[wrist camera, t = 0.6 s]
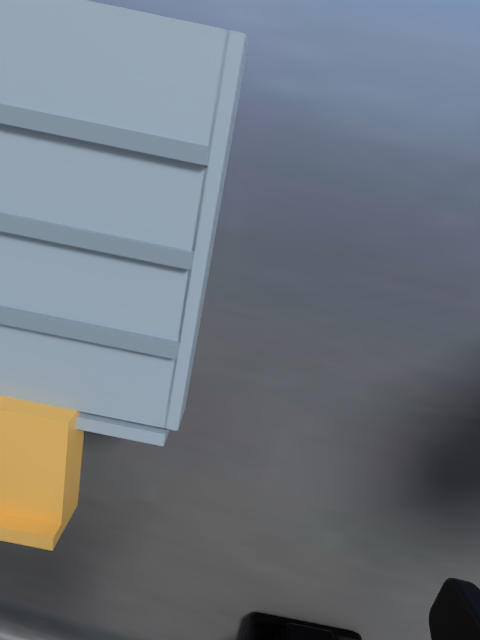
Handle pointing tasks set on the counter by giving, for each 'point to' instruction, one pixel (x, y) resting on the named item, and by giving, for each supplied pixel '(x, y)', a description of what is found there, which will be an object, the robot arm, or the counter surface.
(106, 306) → the lid
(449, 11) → the counter surface
